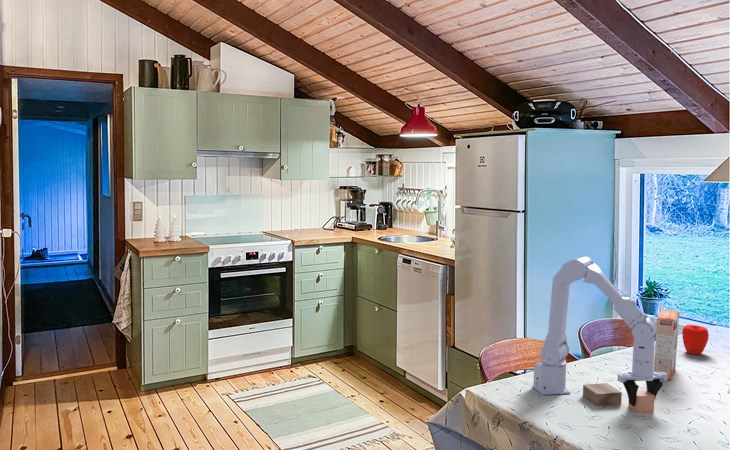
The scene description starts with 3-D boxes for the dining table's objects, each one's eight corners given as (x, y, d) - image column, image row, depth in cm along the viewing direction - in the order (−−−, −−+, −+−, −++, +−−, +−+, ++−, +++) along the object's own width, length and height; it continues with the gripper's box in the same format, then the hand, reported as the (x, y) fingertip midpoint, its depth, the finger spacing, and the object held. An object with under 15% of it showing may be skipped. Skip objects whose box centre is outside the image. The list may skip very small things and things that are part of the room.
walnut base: (596, 407, 187) (597, 394, 186) (582, 397, 194) (583, 384, 194) (621, 405, 188) (621, 392, 188) (606, 395, 196) (606, 383, 196)
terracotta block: (637, 412, 182) (638, 396, 181) (628, 406, 187) (629, 390, 186) (653, 411, 182) (654, 395, 182) (643, 405, 187) (644, 389, 187)
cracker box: (672, 381, 208) (675, 319, 206) (652, 377, 211) (655, 317, 209) (676, 369, 220) (680, 311, 218) (658, 366, 223) (661, 308, 221)
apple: (708, 352, 240) (709, 324, 239) (706, 358, 232) (708, 329, 231) (682, 348, 244) (683, 321, 243) (679, 354, 237) (681, 326, 236)
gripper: (627, 364, 178) (625, 410, 179) (674, 362, 180) (672, 408, 181) (614, 357, 185) (612, 401, 186) (660, 355, 187) (657, 399, 188)
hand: (641, 404), depth 184 cm, fingers closed on terracotta block, 5 cm apart
